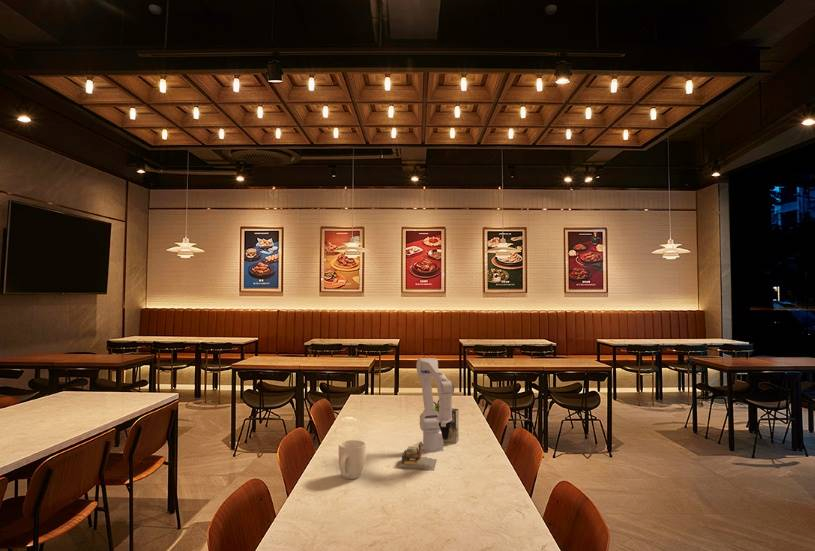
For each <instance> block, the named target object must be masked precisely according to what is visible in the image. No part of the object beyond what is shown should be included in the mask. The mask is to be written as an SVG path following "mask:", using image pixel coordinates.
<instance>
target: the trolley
mask: <svg viewBox="0 0 815 551" xmlns="http://www.w3.org/2000/svg"><path fill="white" fill-rule="evenodd" d="M422 447H423V441H420V442H419V444H418V446H407V448H406V450H407V453H406V458H407V460H409V459H410V457H416V458H415V459H416V460H419V457H420V456H422V452H423V450H422Z"/></svg>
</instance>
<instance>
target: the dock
mask: <svg viewBox="0 0 815 551" xmlns="http://www.w3.org/2000/svg"><path fill="white" fill-rule="evenodd" d="M406 453H407V449H404V452H403V453H402V455H401V461H400V463H399V465H398V468H399V469H404V470H406V469H407V470H418V471H419V470H420V471H431V472H432V471H435V468H436V465H437V460H438V459H437V458H432V457H428V456H422V455H421V456H420V457H419V460H416V459H415V458H416V457H410V459H409V460H407V458H406Z"/></svg>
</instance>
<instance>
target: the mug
mask: <svg viewBox="0 0 815 551" xmlns="http://www.w3.org/2000/svg"><path fill="white" fill-rule="evenodd" d="M366 451H367V450H366V442H365V441H364V440H359V439H348V440H343V441H341V442H340V443H338V464H339V465H338V466H339V470H340V475H341V476H343V478H344V479H346V480H356V479H358V478H360V477H361V475H362V473H363V471H364V467H365V465H366Z"/></svg>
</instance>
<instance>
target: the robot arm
mask: <svg viewBox="0 0 815 551" xmlns="http://www.w3.org/2000/svg"><path fill="white" fill-rule="evenodd" d="M416 373H417V376H418V377H420V382H421V392H422V399H423V400H422V401H423V407H424V410H425V411H424V410H423V411H424V412H422V413H420V415H419V427H420V430H421V431H422V434H423V435H422V452H425V453H426V454H427V453H436V452H444V451H445V449H444V442H443V439H446V440H447V439H448V435H449V430H450V426H451V424H452V422H450V421H452V408H453V394H454V392H455V383H454V382H453V380H451V379H448V378H447V377H446V375H445V373H444V372H443V371H441V370H440V369H439V361H438V359H437V357H433V358H432V357H428V358H427V357H424V358H420V357H418V358H417V360H416ZM431 377H432V378H431ZM432 380H433V382H434V383H435V385H436V390H437V397H438V400H439V413H438V412H437V411H435V410H434V406H435V404H434V402H435V401H434V396H433V389H432ZM433 401H434V402H433ZM425 417H426V418H425ZM440 429H441V430H440Z"/></svg>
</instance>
